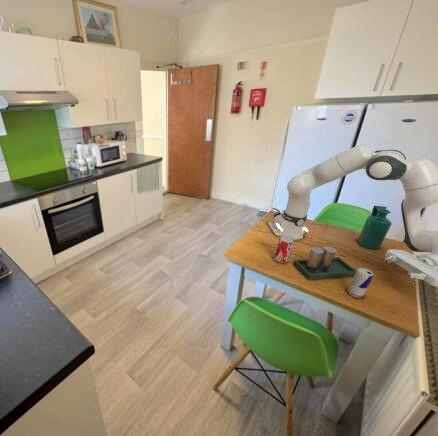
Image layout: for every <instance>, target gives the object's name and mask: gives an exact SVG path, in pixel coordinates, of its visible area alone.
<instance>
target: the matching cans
mask: <svg viewBox="0 0 438 436" xmlns="http://www.w3.org/2000/svg"><path fill="white" fill-rule="evenodd" d="M336 253H337V249H336V248H334V247H333V246H328V245H326V246H323V247H322V248H320V247H318V246H312V247H311V249H310V251H309V254H308V257H307V262H306V265H305V269H306V270H307V271H308V272H309V273H316V272H317V270H318V271H320V272H325V273H326V272H328V270H329V268H330V265H331V263H332V261H333V258H334V257H335V256H336Z"/></svg>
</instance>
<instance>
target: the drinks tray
mask: <svg viewBox="0 0 438 436" xmlns="http://www.w3.org/2000/svg"><path fill="white" fill-rule="evenodd" d="M307 259H308V258H307ZM307 259H306V258H305V259H296V260H294V261H293V266H294V267H295V268H296V269H298V271H299V272H300V273H301V274H302V275H303V276H304V277H305V278H306V279H307V280H308V281H311V280H324V279H335V278H347V277H348V278H349V277H354V275H355V273H356V271H357V270H356V269H355V268H354V267H352V265H350V264H349V263H347V262H346V261H344V260H343V259H342V258H340V257H339V256H336V257H335V256H334V258H333V261H332V263H331V265H330V268H329V270H328V272H326V273H325V272H320V271H318V270H317V272H316V273H309V272H308V271H307V270H306V269H305V265H306V262H307Z"/></svg>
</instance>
